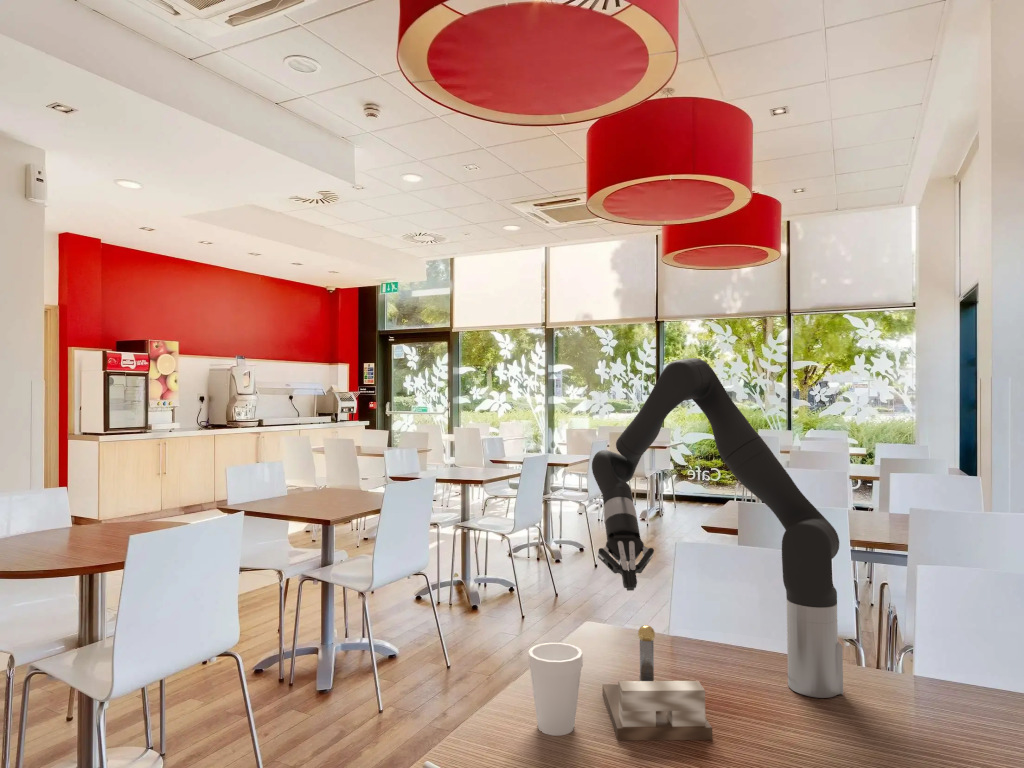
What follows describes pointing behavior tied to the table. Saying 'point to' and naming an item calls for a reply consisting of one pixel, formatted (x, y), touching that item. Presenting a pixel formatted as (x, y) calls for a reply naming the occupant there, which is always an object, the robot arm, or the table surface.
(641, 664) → the gold knob lever
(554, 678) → the foam cup
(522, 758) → the table surface
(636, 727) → the board
